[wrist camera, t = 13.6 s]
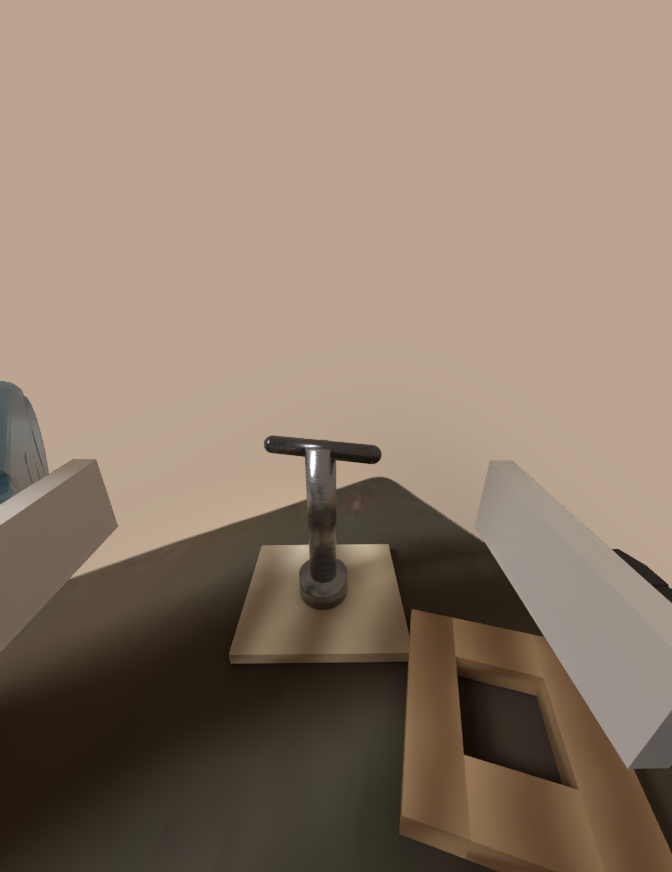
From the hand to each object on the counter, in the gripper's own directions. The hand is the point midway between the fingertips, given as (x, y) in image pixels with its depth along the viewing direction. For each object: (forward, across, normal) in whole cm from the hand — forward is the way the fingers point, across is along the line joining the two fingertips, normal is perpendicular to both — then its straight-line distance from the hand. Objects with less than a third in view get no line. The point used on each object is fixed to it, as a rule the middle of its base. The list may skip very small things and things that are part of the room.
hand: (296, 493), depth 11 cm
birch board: (+12, +1, -20) cm, 23 cm away
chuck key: (+12, +1, -19) cm, 22 cm away
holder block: (+2, +12, -19) cm, 23 cm away
